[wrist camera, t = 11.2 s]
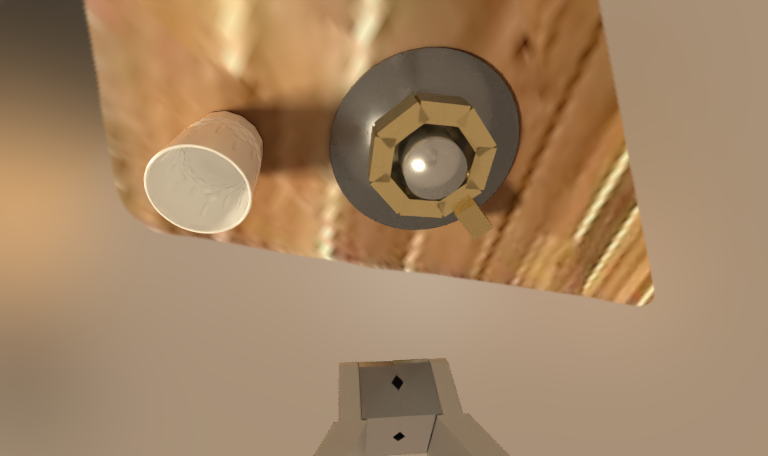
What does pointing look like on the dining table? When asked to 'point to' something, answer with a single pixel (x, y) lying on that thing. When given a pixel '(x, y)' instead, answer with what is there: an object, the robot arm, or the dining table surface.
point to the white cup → (207, 174)
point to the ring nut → (476, 153)
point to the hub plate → (393, 92)
